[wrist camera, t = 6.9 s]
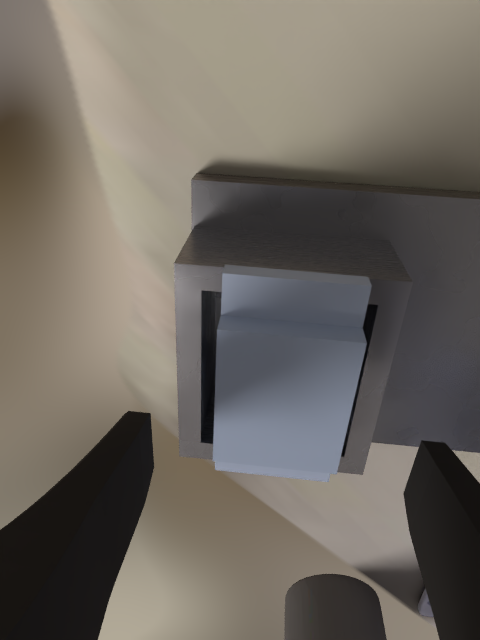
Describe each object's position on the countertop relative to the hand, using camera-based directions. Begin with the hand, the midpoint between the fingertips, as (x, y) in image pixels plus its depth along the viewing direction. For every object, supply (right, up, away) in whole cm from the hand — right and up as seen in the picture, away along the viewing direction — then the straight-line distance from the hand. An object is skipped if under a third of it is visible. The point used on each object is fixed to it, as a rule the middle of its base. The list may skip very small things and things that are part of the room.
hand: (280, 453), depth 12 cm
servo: (+1, +4, +5) cm, 7 cm away
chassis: (+5, +3, +6) cm, 8 cm away
